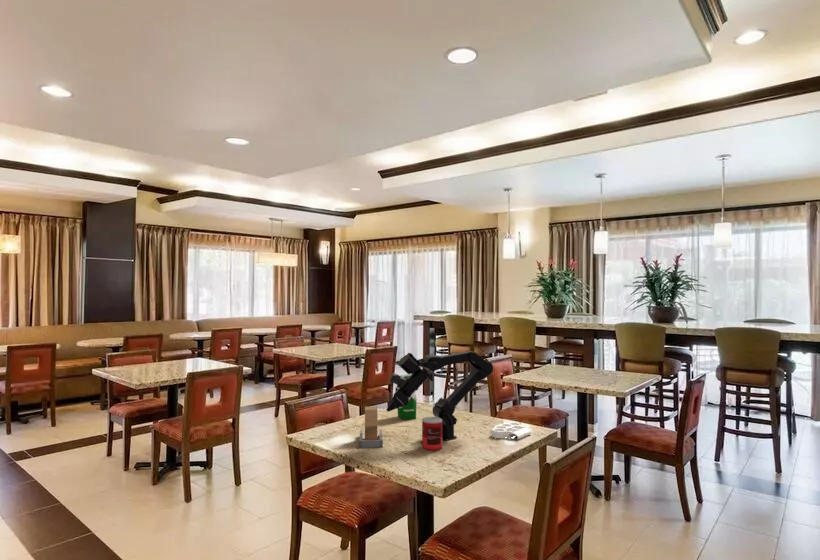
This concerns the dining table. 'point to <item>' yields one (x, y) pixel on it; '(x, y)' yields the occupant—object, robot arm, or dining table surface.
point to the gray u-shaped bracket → (370, 441)
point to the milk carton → (408, 408)
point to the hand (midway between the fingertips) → (387, 408)
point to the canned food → (432, 433)
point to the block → (370, 422)
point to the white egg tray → (510, 430)
